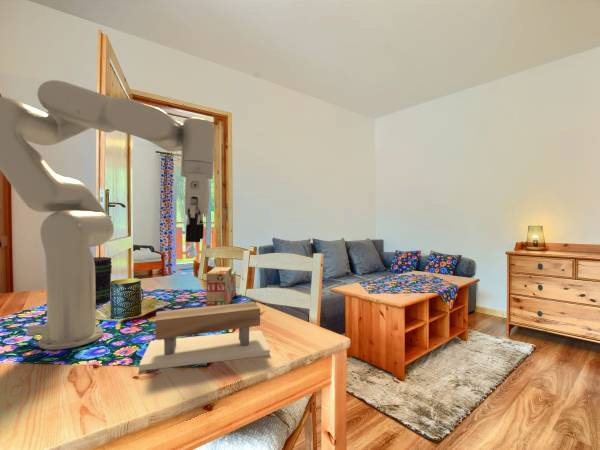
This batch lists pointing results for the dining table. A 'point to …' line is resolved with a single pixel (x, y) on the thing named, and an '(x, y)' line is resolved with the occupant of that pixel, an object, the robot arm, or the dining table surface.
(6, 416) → the dining table surface
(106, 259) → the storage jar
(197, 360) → the peg stand
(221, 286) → the stack of blocks
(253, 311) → the shelf board
